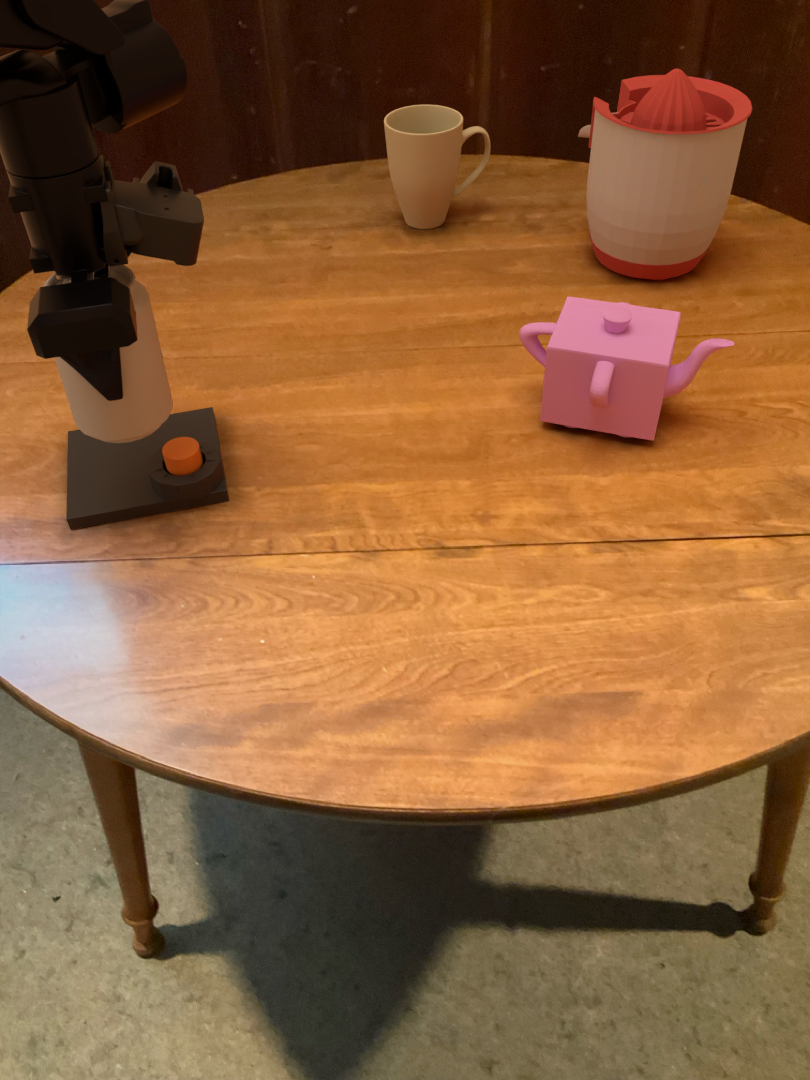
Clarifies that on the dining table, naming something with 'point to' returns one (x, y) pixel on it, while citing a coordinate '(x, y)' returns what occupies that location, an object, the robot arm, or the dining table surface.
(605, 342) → the teapot
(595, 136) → the citrus juicer
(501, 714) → the dining table surface
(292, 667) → the dining table surface
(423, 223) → the mug
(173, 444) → the button
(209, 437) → the dark grey flat block
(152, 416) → the can
